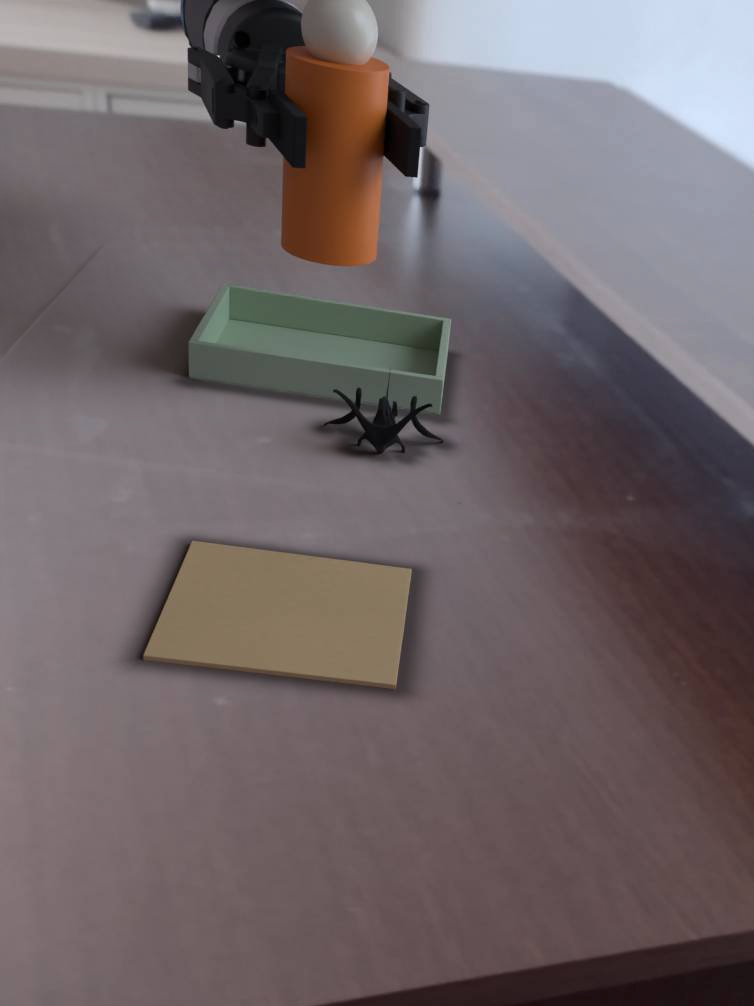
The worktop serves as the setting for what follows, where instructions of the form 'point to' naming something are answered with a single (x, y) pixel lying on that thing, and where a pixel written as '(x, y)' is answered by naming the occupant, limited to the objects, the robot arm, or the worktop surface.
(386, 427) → the creature
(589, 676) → the worktop surface
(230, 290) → the tray
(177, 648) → the mat
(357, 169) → the skittle
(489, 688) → the worktop surface
